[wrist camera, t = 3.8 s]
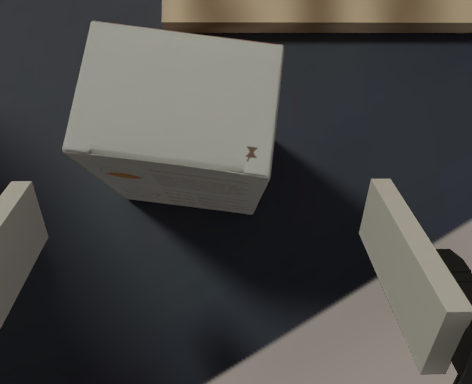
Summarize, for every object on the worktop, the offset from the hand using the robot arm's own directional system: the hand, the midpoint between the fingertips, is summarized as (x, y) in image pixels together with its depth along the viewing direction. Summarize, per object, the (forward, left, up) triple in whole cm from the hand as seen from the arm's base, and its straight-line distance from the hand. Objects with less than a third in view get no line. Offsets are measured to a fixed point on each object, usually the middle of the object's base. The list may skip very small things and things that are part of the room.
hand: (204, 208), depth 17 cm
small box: (-1, +4, -9) cm, 10 cm away
